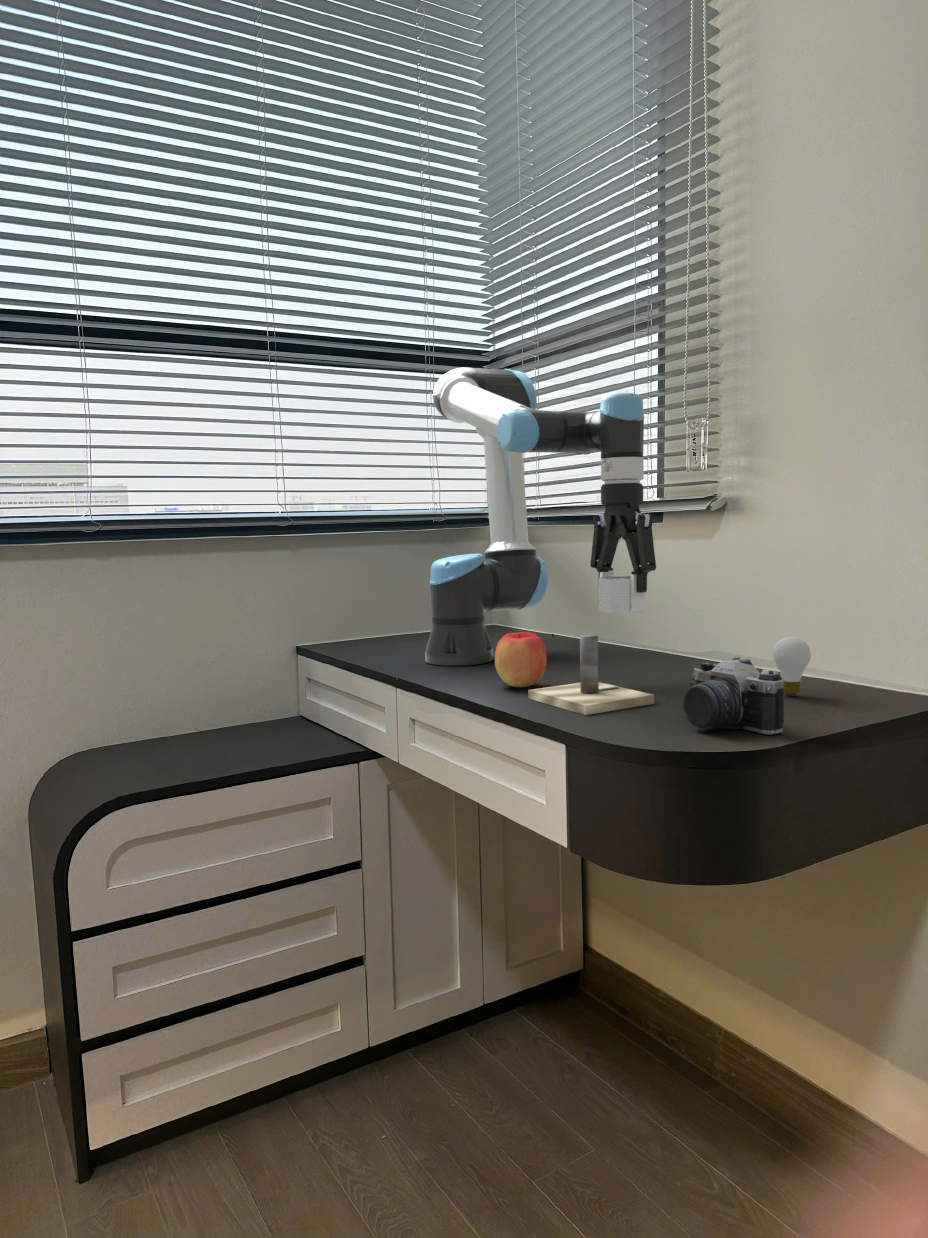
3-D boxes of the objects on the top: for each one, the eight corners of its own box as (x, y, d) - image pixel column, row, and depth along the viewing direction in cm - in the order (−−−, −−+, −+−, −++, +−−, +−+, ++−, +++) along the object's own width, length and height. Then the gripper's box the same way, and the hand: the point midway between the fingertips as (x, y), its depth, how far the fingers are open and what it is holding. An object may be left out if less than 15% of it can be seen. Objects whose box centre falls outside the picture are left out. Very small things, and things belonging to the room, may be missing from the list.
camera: (657, 723, 128) (657, 656, 127) (707, 714, 133) (708, 650, 132) (739, 745, 114) (739, 670, 113) (791, 734, 119) (792, 662, 118)
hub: (590, 610, 159) (590, 576, 158) (624, 606, 162) (624, 574, 162) (619, 613, 152) (619, 578, 151) (653, 610, 156) (653, 576, 155)
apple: (492, 683, 163) (490, 630, 162) (541, 681, 164) (540, 629, 163) (498, 692, 154) (497, 637, 153) (551, 690, 155) (550, 635, 154)
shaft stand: (528, 698, 148) (527, 635, 147) (593, 689, 155) (592, 628, 154) (585, 715, 134) (584, 645, 133) (654, 703, 141) (653, 637, 140)
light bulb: (764, 695, 145) (765, 636, 144) (791, 691, 148) (792, 633, 147) (790, 701, 140) (791, 640, 139) (818, 697, 142) (819, 637, 141)
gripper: (570, 484, 161) (571, 605, 164) (645, 479, 143) (644, 615, 146) (601, 484, 165) (602, 602, 168) (678, 479, 147) (677, 612, 150)
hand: (622, 608), depth 157 cm, fingers closed on hub, 8 cm apart
